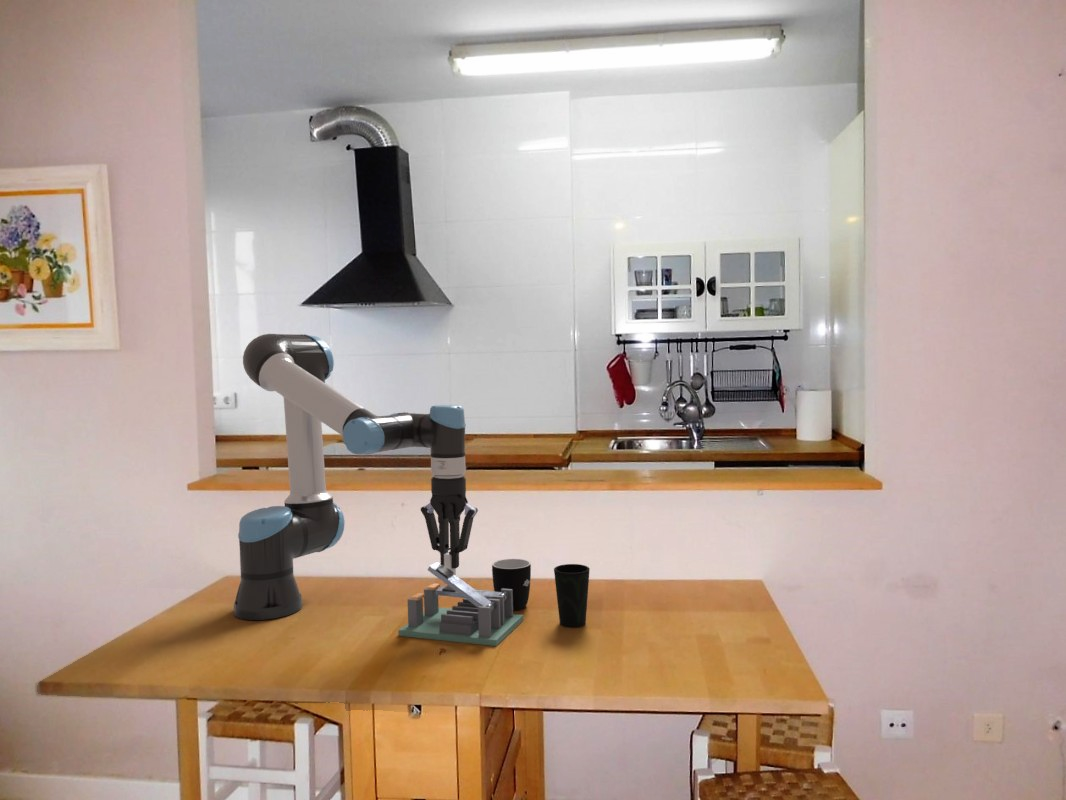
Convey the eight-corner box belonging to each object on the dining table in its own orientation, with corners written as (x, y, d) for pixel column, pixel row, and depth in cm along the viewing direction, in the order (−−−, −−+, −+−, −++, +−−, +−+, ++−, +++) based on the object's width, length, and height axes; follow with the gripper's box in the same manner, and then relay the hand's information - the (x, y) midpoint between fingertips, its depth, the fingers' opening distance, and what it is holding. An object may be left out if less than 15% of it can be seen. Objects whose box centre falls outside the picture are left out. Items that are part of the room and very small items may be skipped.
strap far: (435, 596, 167) (435, 588, 167) (442, 591, 170) (442, 583, 170) (502, 603, 162) (502, 596, 162) (508, 599, 165) (508, 591, 165)
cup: (548, 626, 163) (547, 570, 163) (564, 615, 170) (563, 562, 170) (581, 631, 160) (580, 574, 159) (596, 620, 166) (595, 566, 166)
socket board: (398, 635, 159) (397, 599, 159) (432, 611, 175) (431, 579, 174) (496, 646, 152) (495, 608, 152) (523, 620, 167) (522, 586, 167)
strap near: (426, 571, 159) (430, 564, 159) (434, 566, 162) (438, 560, 162) (487, 616, 155) (491, 609, 155) (493, 610, 158) (497, 604, 158)
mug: (528, 613, 172) (527, 569, 172) (489, 612, 174) (488, 568, 173) (536, 597, 184) (535, 555, 184) (499, 596, 185) (498, 555, 185)
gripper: (413, 477, 165) (415, 584, 166) (468, 479, 161) (470, 589, 162) (429, 472, 172) (431, 575, 174) (482, 474, 168) (484, 580, 169)
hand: (450, 582), depth 168 cm, fingers closed
